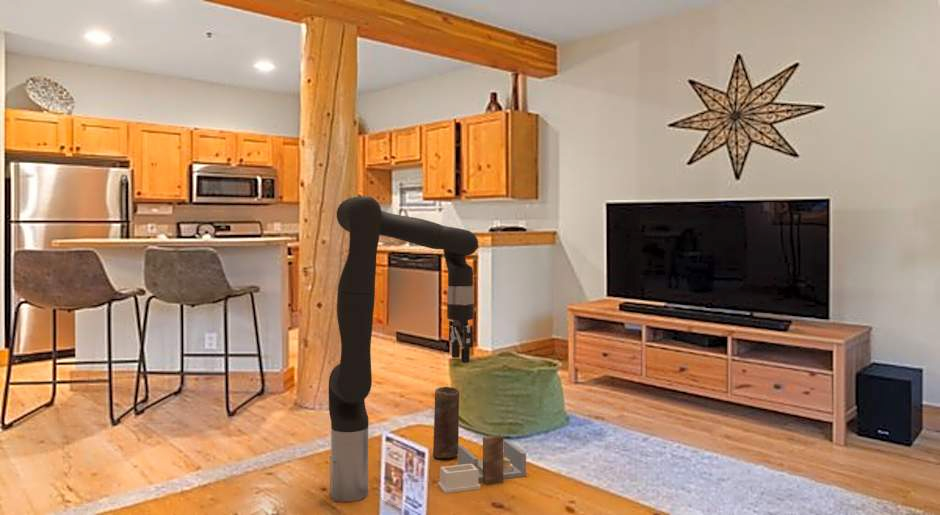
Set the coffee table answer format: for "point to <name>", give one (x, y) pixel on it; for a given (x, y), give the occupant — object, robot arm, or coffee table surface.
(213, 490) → the coffee table surface
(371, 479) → the coffee table surface
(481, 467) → the block
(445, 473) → the holder
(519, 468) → the rack
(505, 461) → the offcut short
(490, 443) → the slat
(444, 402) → the brown log
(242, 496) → the coffee table surface
